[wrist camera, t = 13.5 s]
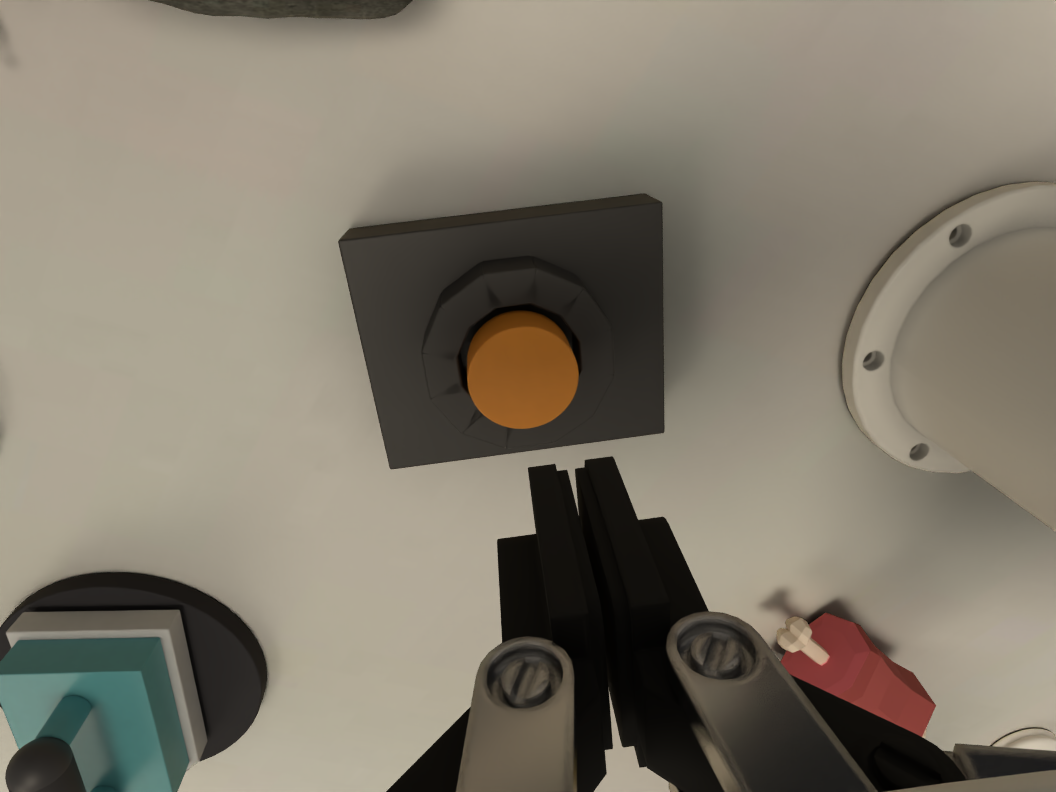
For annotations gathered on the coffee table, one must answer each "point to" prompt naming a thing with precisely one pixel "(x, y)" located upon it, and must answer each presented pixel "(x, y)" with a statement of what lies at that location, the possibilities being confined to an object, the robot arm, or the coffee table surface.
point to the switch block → (502, 286)
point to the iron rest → (211, 634)
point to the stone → (292, 8)
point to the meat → (854, 670)
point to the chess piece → (1029, 740)
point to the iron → (100, 702)
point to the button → (521, 370)
